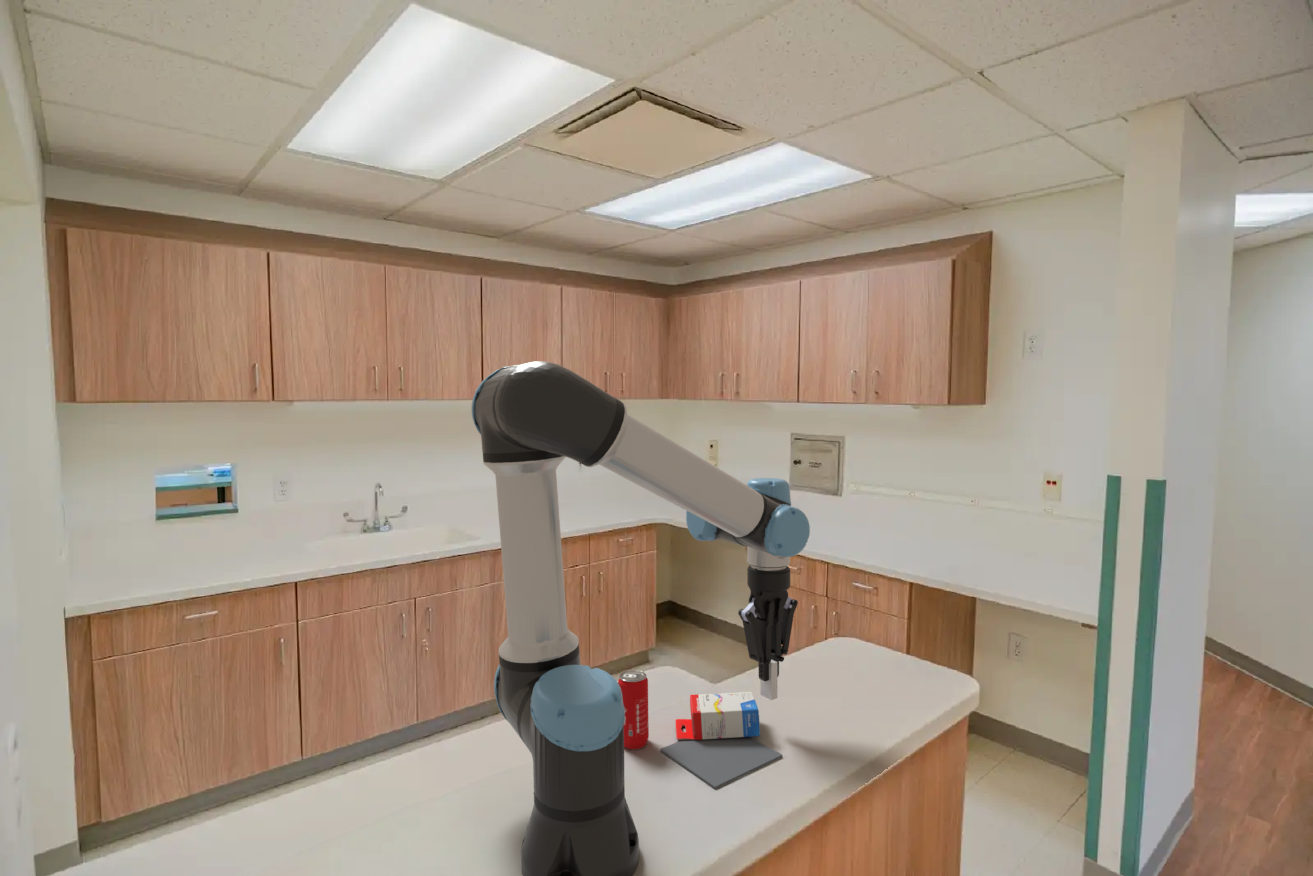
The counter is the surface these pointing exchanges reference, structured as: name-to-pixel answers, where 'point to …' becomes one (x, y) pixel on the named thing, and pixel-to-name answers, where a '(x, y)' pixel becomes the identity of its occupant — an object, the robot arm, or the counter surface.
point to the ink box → (720, 717)
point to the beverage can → (635, 708)
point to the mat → (721, 758)
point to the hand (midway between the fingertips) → (768, 696)
